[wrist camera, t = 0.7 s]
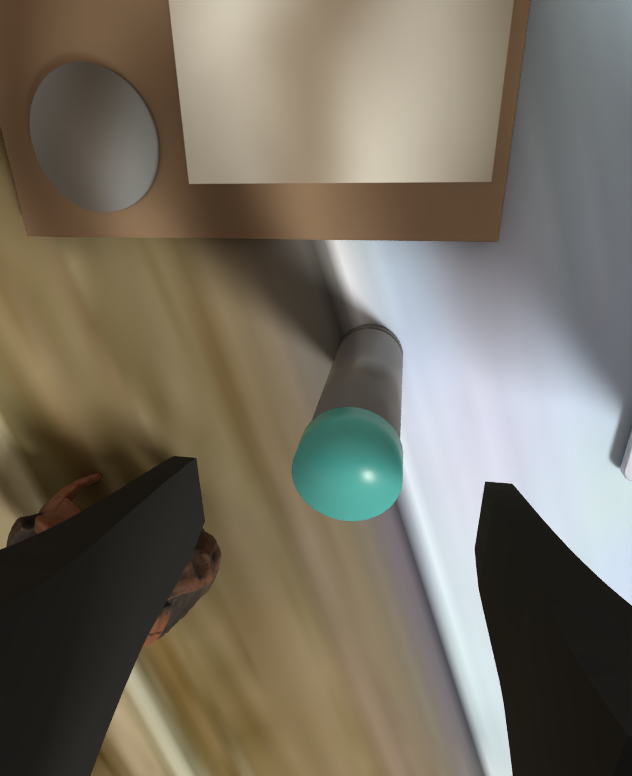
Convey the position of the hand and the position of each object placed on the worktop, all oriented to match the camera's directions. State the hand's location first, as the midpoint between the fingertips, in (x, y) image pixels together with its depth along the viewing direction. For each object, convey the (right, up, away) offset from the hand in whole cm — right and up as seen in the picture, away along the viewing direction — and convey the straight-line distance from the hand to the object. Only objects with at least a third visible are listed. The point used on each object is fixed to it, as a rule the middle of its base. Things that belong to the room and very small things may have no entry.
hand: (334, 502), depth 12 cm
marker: (+2, +4, +9) cm, 10 cm away
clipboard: (-3, +15, +5) cm, 17 cm away
